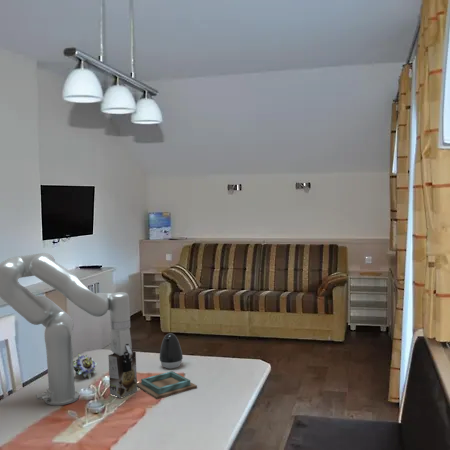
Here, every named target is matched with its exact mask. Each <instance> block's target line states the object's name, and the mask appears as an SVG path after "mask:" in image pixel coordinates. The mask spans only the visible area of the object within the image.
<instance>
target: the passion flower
mask: <svg viewBox="0 0 450 450" xmlns="http://www.w3.org/2000/svg"><path fill="white" fill-rule="evenodd" d="M97 365H98V363H97V362H96V361H94V358H92V357H91V356H90V357H89V355H88V354H85V355H81V353H78V354H77V359H76V360H73V367H74V372H75V374H76V376H80V375H81V376H82V378H84V379H85V378H88V379H89V378H90V379H91V378H92V373H93V374H96V373H97V371H96V370H95V369H96V367H97Z"/></svg>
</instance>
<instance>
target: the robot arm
mask: <svg viewBox="0 0 450 450" xmlns="http://www.w3.org/2000/svg"><path fill="white" fill-rule="evenodd" d="M27 277H29V278H30V277H36V278H37V279H38V280H40V281H42V282H44V283H45V284H47V285H48V286H49V287H51V288H53V289H55V290H56V291H57V292H59V293H61V294H62V295H63V296H64V297H65V298H66V299H67V300H69V302H71V303H73V305H75V306H76V307H78V308H80V310H82V311H84V312H85V313H87V314H89V315H90V316H93V317H95V318H96V317H97V318H99V317H103V316H104V315H106V314H107V313H108V311H109V318H110V321H109V322H110V351H111V352H112V354H114V353H115V354H117V355H119V356H123V360H124V362H123V372H129V371H131V358H132V351H133V350H132V349H133V347H132V337H131V329H130V328H131V312H130V311H131V309H130V296H129V294H128V292H124V291H123V292H122V291H119V292H112V293H111V292H96V293H95V292H93V291H92V290H90V289H89V288H87V286H86V285H84V284H83V283H82V282H81V280H80V279H79V278H78V276H77V275H76V274H75V273H74V272H72V271H71V270H69V269H68V268H65V267H64V266H63V265H62V264H60V263H58V262H57V261H56V260H55V258H54V257H53V256H52V255H51V254H50V253H47V252H40V253H34V254H33V253H32V254H26V255H20V256H13V257H10V258H7V259H5V260H4V261H2V262H0V299H1V300H2V301H3V302H5V303H6V304H7V305H8V306H9V307H11V308H12V309H13V310H14V311H15V312H16V313H18V314H19V315H20V316H21V317H23V318H24V320H26V321H27V322H28V323H30V324H31V325H34V326H35V325H36V326H37V325H38V326H39V325H43V327H45V328H44V343H45V351H46V364H47V378H48V379H47V381H48V383H47V384H48V388H46V391H44V392H42V393H37V394H35V399H36V400H38V401H39V400H42V401H44V402H45V403H46V404H47V405H50V406H65V405H68V404H72V403H75V402H76V401H78V399H79V398H80V393H79V392H78V391H76V388H75V387H76V385H75V370H74V367H73V365H74V364H73V361H74V354H73V352H74V351H73V342H72V333H73V330H74V319H73V318H72V317H71V315H70V314H68V313H67V312H66V311H65V310H63V308H61V307H60V306H59V305H58V304H56V303H55V302H54V301H53V300H52V299H50V298H49V297H48V296H45V295H35V294H33V292H31V291H30V290H29V289H28V288H27V287H25V286H24V285H22V284H20V282H19V279H21V278H27ZM124 353H126V354H124ZM127 355H128V356H127ZM125 356H127V357H126V358H125Z"/></svg>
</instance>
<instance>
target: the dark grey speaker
mask: <svg viewBox="0 0 450 450" xmlns="http://www.w3.org/2000/svg"><path fill="white" fill-rule="evenodd" d="M180 344H181V343H180V341H179V339H178V337H177V336H176V334H174V333H172V332H171V333H170V332H169V333H167V334H166V335H164V336H163V339H162V342H161V345H160V350H159V361H160V364H161V365H162V367H164V368H166V369H169V370H171V369H177V368H178V367H180V366H181V364H182V361H183V357H184V356H183V351H182V347H181V345H180Z"/></svg>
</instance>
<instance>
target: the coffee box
mask: <svg viewBox="0 0 450 450" xmlns="http://www.w3.org/2000/svg"><path fill="white" fill-rule="evenodd" d="M124 354H126V353H124ZM136 355H137V354H136V351H134V350H132V358H131V371H129V372H123V362H124V360H123V356H119V355H117V354H115V353H114V354H113V353H111V354H108V355H107V356H108V374H109V375H108V376H109V377H108V379H109V381H108V382H109V395H110V394H112V395H115V396H117V397H119V398H118V399H122V398H121V397H123V398H125V397H126V396H130V395H132V394H134V393H136V391H137V392H138V387H137V383H138V379H137V375H138V374H137V356H136ZM127 356H128V355H127ZM127 356H125V358H126V357H127ZM129 394H130V395H129ZM124 396H125V397H124ZM117 397H116V398H117Z"/></svg>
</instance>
